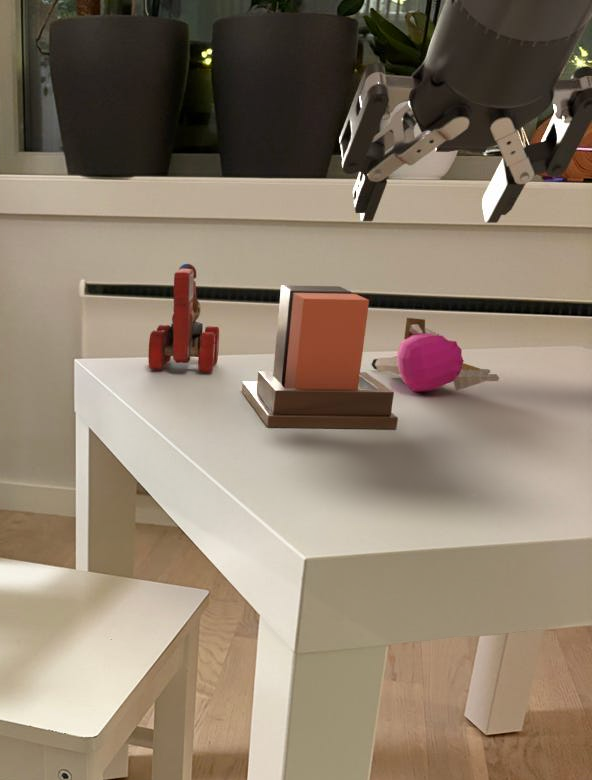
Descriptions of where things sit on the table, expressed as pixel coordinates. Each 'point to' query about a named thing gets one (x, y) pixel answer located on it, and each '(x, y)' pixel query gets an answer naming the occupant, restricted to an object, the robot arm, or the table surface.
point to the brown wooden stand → (316, 405)
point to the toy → (431, 361)
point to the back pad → (326, 341)
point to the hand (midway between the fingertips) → (426, 212)
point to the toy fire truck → (184, 329)
